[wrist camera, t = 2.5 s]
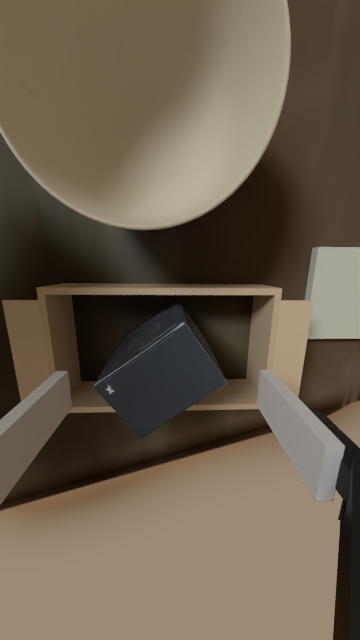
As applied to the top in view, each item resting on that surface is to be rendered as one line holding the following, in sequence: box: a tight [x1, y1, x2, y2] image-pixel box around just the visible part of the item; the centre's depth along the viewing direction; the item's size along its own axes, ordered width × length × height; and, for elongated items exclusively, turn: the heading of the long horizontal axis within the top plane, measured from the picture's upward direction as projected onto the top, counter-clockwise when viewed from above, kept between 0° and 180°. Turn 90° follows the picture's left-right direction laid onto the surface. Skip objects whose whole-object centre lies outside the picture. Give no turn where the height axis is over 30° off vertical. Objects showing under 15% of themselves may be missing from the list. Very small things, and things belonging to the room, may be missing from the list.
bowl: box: [0, 0, 291, 230], centre depth 16 cm, size 16×16×10 cm
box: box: [94, 300, 227, 438], centre depth 20 cm, size 8×6×11 cm
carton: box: [2, 283, 313, 413], centre depth 22 cm, size 27×12×5 cm, turn 90°
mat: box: [305, 247, 360, 339], centre depth 24 cm, size 10×10×1 cm
